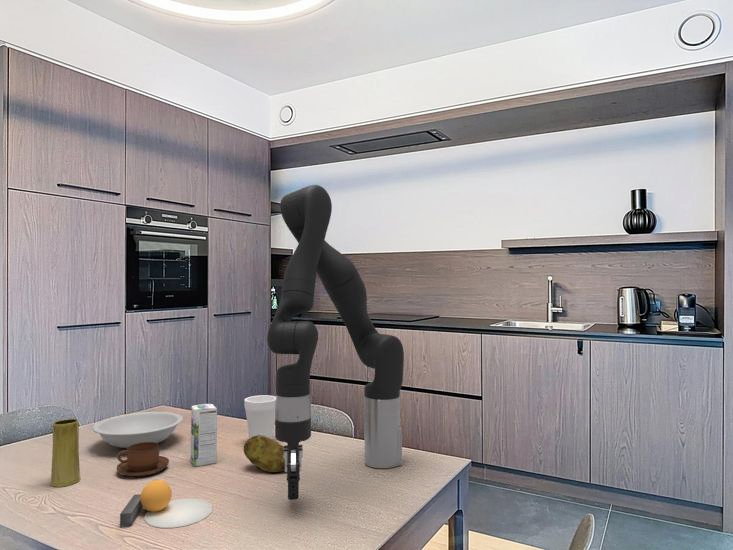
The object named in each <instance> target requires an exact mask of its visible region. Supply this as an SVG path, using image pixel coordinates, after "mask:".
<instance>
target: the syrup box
mask: <svg viewBox="0 0 733 550" xmlns="http://www.w3.org/2000/svg"><path fill="white" fill-rule="evenodd" d="M190 415H191V416H190V417H191V419H190V462H191V463H192V465H193V467H196V468H197V467H200V466H201V467H202V466H207V465H211V464H216V463H217V459H218V458H217V457H218V455H217V453H218V451H217V447H218V446H217V445H218V441H217V440H218V439H217V438H218V434H217V433H218V408H217V407H216V406H215V405H214V404H212V403H202V404H195V405H191V413H190Z"/></svg>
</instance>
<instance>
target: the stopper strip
mask: <svg viewBox="0 0 733 550" xmlns="http://www.w3.org/2000/svg"><path fill="white" fill-rule="evenodd" d="M140 496H141V493H139V494H138V493H137V494H133V496H132V497H131V499H130V500H128V502H127V504H126V506H125V507H123V510H121V512H120V513H119V527H120V528H122V527H124V528H125V527H132V526H133V524H134V523H135V521H136V519H137V518H138V517H139V516H140V513H141V512H142V510H143V509H144V507H143V506H142V504H141V501H140Z"/></svg>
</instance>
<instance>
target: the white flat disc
mask: <svg viewBox="0 0 733 550" xmlns="http://www.w3.org/2000/svg"><path fill="white" fill-rule="evenodd" d="M212 512H213V505H212V504H211V503H210V501H208V500H205V499H200V498H178V499H173V500H170V502H169V504H168V505H167V506H166V507H165V508H164V509H162V510H160V511H157V512H151V511H148V510H147V512H146V513H145V515H144V522H145V523H146V524H147V525H149V526H151V527H154V528H158V529H175V528H182V527H187V526H191V525H194V524H196V523H199V522H201V521H203V520H205V519H206V518H207V517H209V516H210V515H211V514H212Z"/></svg>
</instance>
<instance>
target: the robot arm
mask: <svg viewBox="0 0 733 550" xmlns="http://www.w3.org/2000/svg"><path fill="white" fill-rule="evenodd" d="M279 207H280V208H279V209H280V214H281V217H282V220H283V221H284V223H285V225H286V226H287V228H288V230H289V231H290V232H291V234H292V236H293V237H294V239H295V240H296V242H297V243H298V244H297V246H296V248H295V250H294V252H293V253H292V255H291V257H290V259H289V261H288V264H287V266H286V267H285V271H284V276H283V281H282V288H281V294H280V301H279V303H278V306H277V309H276V312H275V314H274V316H273V319H272V321H271V323H270V325H269V329H268V331H267V337H266V342H267V346H268V348H269V350H270V351H271V352H272V353H273V354H277V355H298V358H297V359H298V360H297V361H296V362H295V363H291V364H286V365H283V366H280V367H278V368H277V370H276V374H275V375H276V377H275V378H276V379H275V380H276V381H275V387H276V390H275V391H276V393H275V394H276V395H275V397H276V402H275V425H274V435H275V436H274V437H275V439H276V441H278V442H280V443H286V444H287V445H283V446H284V459H285V471H284V472H285V473H287V474H286V482H287V499H288V500H289V501H293V500H294V501H295V500H299V497H300V496H299V494H300V492H299V490H300V489H299V486H300V485H299V483H300V480H301V476H300V472H301V471H302V460H303V455H304V452H303V451H304V450H303V444H300V443H301V442H305V441H307V440H309V439H310V438H311V437H312V400H311V393H310V392H311V387H310V385H311V384H310V383H311V379H310V378H311V369H312V363H313V360H314V355H315V353H316V349H317V345H318V341H319V332H318V328H317V327H316V324H314V323H313V322H312V321H311V320H292V319H293V318H294V317H295V316H297V315H301V314H305V313H308V312H310V311H312V308H313V306H314V298H315V297H314V296H315V289H316V288H315V287H316V278H317V276H318V278H319V279H320V282H321V284H322V286H323V288H324V290H325V291H326V293H327V295H328V297H329V299H330V301H331V302H332V304H333V306H334V307H335V309H336V311H337V313H338V315H339V318H341V321H342V322H343V324H344V327H345V328H346V330H347V332H348V335H349V338H350V339H351V341H352V344H353V347H354V349H355V352H356V354H357V356H358V358H359V360H360V362H361V363H362V364H363V365H364V366H366V367H367V368H370V369H373V370H374V375H373V376H374V377H373V381H371V382H368V383H367V384H365V386H364V392H363V393H364V400H363V401H364V403H363V405H364V407H363V408H364V409H363V410H364V411H363V413H364V419H363V420H364V421H363V422H364V424H363V425H364V427H363V428H364V436H363V437H364V440H363V441H364V455H363V457H364V464H365V465H366V466H368V467H370V468H375V469H390V468H395V467H399V466H403V430H402V426H401V419H400V418H401V416H400V415H401V414H400V411H401V406H400V405H401V403H400V402H401V398H400V397H401V394H400V393H401V388H402V386H403V381H404V365H405V364H404V363H405V360H404V359H405V352H404V351H405V350H404V346H403V344H402V341H401V340H400V339H399V337H397V336H396V335H392V334H385V333H380V332H378V330H377V329H376V328H375V326H374V324H373V322H372V320H371V318H370V315H369V313H368V307H367V306H368V303H367V302H368V298H367V297H368V295H367V288H366V286H365V283H364V281H363V279H362V277H361V275H360V273H359V271H358V269H357V267H356V266H355V264H354V263H353V262H352V261H351V260H350V259H349V258H348V257H347V256H346V255H344V254H343V253H341V252H340V251H339V250H338V249H335V247H334V246H332V245H331V244H329V243H328V242H327V241H326V240H325V238H326V236H327V232H328V228H329V224H330V221H331V216H332V211H333V209H332V208H333V205H332V199H331V197H330V195H329V193H328V191H327V190H326V189H325V188H324V187H323V186H321V185H319V184H312V185H307V186H304V187H302V188H299V189H297V190H294V191H292V192H289V193H288V194H285V195H284V196H283V197H282V198H281V200H280V204H279ZM287 456H288V461H287Z"/></svg>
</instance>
